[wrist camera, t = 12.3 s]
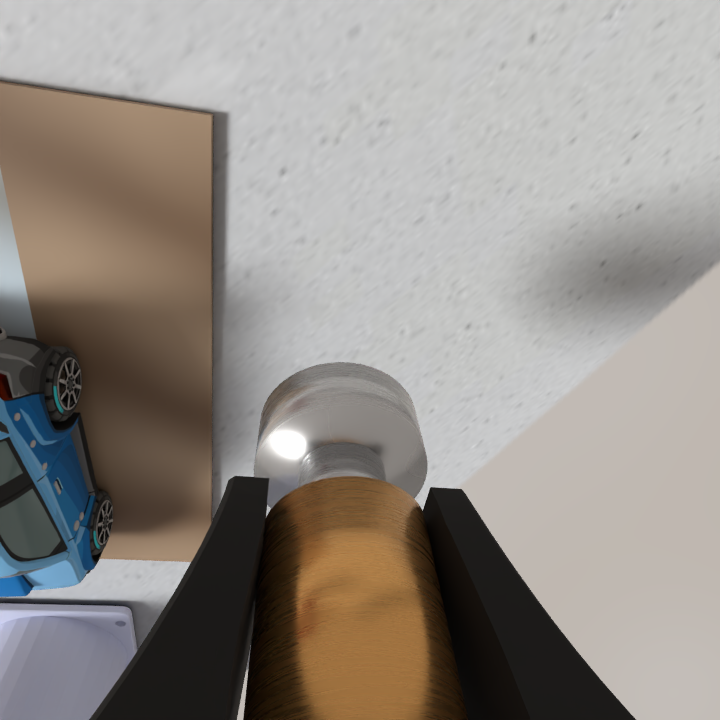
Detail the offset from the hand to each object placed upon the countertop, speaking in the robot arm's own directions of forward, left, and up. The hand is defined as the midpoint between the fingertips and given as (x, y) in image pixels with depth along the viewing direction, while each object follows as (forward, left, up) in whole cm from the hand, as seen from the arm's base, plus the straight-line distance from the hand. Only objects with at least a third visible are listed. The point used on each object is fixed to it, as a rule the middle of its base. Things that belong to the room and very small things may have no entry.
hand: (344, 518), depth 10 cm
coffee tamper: (0, 0, -3) cm, 3 cm away
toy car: (-7, +11, -10) cm, 16 cm away
